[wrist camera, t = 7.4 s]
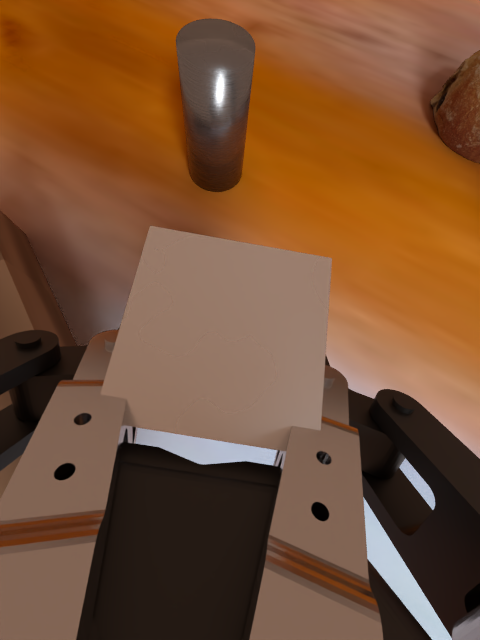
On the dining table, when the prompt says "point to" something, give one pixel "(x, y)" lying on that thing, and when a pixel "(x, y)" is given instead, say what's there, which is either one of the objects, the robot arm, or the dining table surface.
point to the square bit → (222, 340)
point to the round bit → (215, 99)
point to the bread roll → (461, 110)
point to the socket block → (24, 303)
